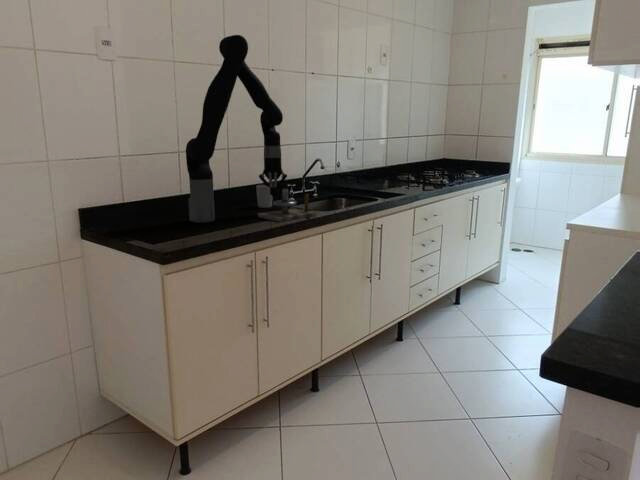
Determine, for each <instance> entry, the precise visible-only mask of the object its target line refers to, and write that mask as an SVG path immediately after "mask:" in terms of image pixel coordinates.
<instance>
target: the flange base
mask: <svg viewBox="0 0 640 480" xmlns="http://www.w3.org/2000/svg"><path fill="white" fill-rule="evenodd" d="M289 207H290V206H281V210H273V211H266V212H258V213H257V218H260V219H265V220H269V221H273V220H276V221H275V222H278V221H283V222H287V220H289V221H293V220H292V219H295V220H299V219H298V218H301V219H305V218H304V217H307V218H313V217H317V212H315V211H311V210H309V194H308V193H305V194H304V209H299V208H295V207H292V208H289Z"/></svg>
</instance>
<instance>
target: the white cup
mask: <svg viewBox="0 0 640 480" xmlns="http://www.w3.org/2000/svg"><path fill="white" fill-rule="evenodd" d="M255 188H256V200H257V207H258V208H260V209H262V208H264V209H266V208H272V207H273V197H274V196H272V195H270V187H268V186H266V185H265V184H258V185H256V186H255Z"/></svg>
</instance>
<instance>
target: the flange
mask: <svg viewBox="0 0 640 480" xmlns="http://www.w3.org/2000/svg"><path fill="white" fill-rule="evenodd" d="M281 193H282V194H281V195H282V197H281V199H279V200H278V199H277V200H274V201H273V200H272V206H275V207H282V206H289V207H293V206H297V205H298V201H297V200H294V199H293V200H292V199H289V188H283V189H282V192H281Z"/></svg>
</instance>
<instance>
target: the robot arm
mask: <svg viewBox="0 0 640 480" xmlns="http://www.w3.org/2000/svg"><path fill="white" fill-rule="evenodd" d="M218 49H219V52H220V54H221V56H222V58H223V59H222V60H223V61H222V64H221V66H220V69H219V70H218V72H217V73H216V74H215V75H214V77H213V79H212V81H211V82H210V84H209V86H208V88H207V90H206V94H205V97H204V101H203V105H202V115H201V116H202V117H201V124H200V127H199V130H198V133H197V135H196V137H193V138H192V139H190V140H189V141H188V142H187V144H186V146H185V156H186V157H185V158H186V159H185V160H186V169H187V170H186V171H187V173H188V178H189V193H190V194H189V197H188V213H189V214H188V215H189V221H190V222H192V223H196V224H198V223H199V224H200V223H211V222H214V221H215V220H216V218H215V217H216V216H215V197H214V193H215V192H214V177H213V176H214V173H213V171H212V169H211V166H210V165H211V164H210V160H211V158H212V157H213V156H214V153H215V150H216V144H217V141H218V140H217V139H218V134H219V132H220V128H221V126H222V123H223V121H224V118H225V115H226V112H227V111H228V108H229V104H230V101H231V98H232V94H233V91H234V88H235V85H236V82H237V80H238V79H239V80H240V82H241V83H242V85H243V87H244V89H246V92H247V93H248V95H249V97H250V98H251V100H252V102H253V104H254V106H256V108H258V109H260V110H262V112H261V113H260V118H259V119H260V121H259V122H260V126H261V131H262V134H263V166H264V167H263V168H264V169H263V171H262V173H261V174H259V175H258V178H259V179H260V180H261V181H262V183H263V185H266V186H268V187H270V195H272V196H273V197H276V195H277V194H278V193H277V192H278V191H277V189H278V187H280V186H281V185H283V183H284V182H285V180H286V179H287V177H288V174H286V173H284V171H283V168H282V149H281V134H280V132H278V131H277V130H276V126H280V125H281V124H282V123H283V120H284V119H283V116H284V115H283V112H282V110H281V109H280V108H279V106H278V105H277V103H276V102H275V101H274V100H273V99H272V98H271V97H270V95H269V93H268V91H267V89H266V88H265V86H264V84H263V83H262V81H261V79H259V78H258V76H257V75H256V74H255V73H254V72H253V71H252V70H251V69H250V67H249V65H248V63H246V60H245V59H246V58H247V55H248V52H249V43H248V41H247V39H246V38H245V36H243V35H241V34H233V35H229V36H226V37H223V38H222V39H221V40H220V42H219V46H218ZM280 177H281V179H280ZM265 178H266V179H268V181H267V180H266V179H265ZM278 179H280V180H279V181H278Z"/></svg>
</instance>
